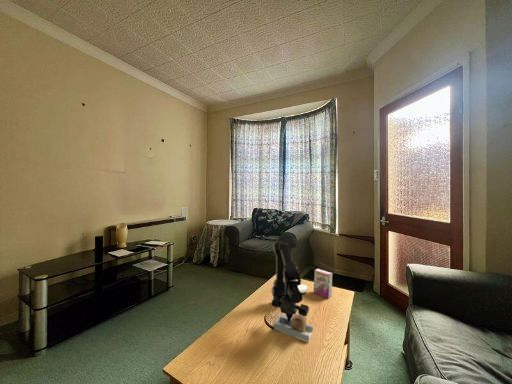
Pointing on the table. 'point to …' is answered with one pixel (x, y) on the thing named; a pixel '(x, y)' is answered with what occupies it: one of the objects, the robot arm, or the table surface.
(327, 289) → the candy bar box
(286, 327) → the chute
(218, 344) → the table surface
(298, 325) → the walnut block
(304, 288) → the figurine
